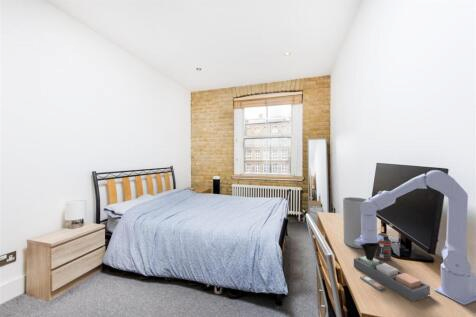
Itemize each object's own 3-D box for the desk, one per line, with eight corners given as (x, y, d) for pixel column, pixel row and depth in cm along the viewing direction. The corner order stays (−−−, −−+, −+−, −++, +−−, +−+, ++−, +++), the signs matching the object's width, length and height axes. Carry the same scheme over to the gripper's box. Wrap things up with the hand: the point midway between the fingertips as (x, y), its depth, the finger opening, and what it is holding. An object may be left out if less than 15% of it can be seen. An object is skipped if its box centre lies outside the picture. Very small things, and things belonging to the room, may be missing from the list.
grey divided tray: (368, 262, 93) (368, 255, 93) (429, 295, 71) (429, 286, 71) (353, 266, 91) (353, 258, 91) (413, 301, 68) (413, 291, 68)
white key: (385, 270, 84) (385, 263, 84) (398, 277, 79) (398, 269, 79) (376, 272, 82) (376, 265, 82) (389, 279, 78) (388, 271, 78)
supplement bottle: (384, 262, 94) (384, 237, 93) (372, 255, 99) (372, 233, 99) (394, 259, 95) (394, 236, 95) (382, 254, 101) (381, 231, 101)
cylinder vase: (367, 241, 116) (366, 198, 116) (371, 250, 104) (370, 202, 104) (343, 238, 121) (342, 196, 121) (344, 246, 110) (343, 201, 109)
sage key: (368, 262, 91) (368, 255, 91) (379, 267, 86) (379, 260, 86) (360, 264, 89) (360, 257, 89) (370, 270, 85) (370, 263, 85)
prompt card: (365, 276, 83) (365, 275, 83) (385, 289, 75) (385, 287, 75) (360, 278, 82) (360, 276, 82) (379, 290, 74) (379, 289, 74)
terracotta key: (405, 280, 77) (405, 272, 77) (420, 288, 72) (420, 280, 72) (395, 283, 75) (395, 275, 75) (410, 292, 70) (410, 283, 70)
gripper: (372, 223, 94) (373, 252, 94) (348, 227, 89) (348, 257, 89) (388, 228, 87) (388, 259, 87) (362, 233, 83) (363, 265, 83)
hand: (369, 259), depth 88 cm, fingers closed, pressing on sage key
